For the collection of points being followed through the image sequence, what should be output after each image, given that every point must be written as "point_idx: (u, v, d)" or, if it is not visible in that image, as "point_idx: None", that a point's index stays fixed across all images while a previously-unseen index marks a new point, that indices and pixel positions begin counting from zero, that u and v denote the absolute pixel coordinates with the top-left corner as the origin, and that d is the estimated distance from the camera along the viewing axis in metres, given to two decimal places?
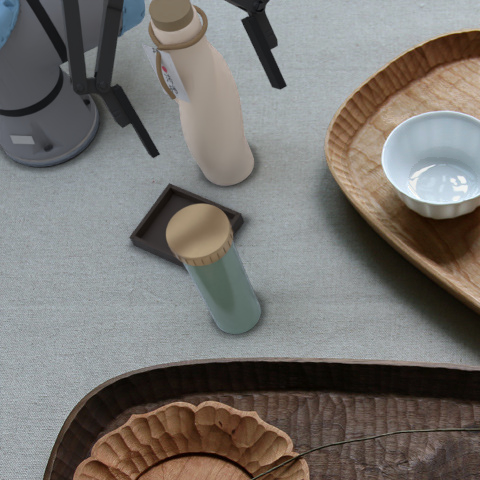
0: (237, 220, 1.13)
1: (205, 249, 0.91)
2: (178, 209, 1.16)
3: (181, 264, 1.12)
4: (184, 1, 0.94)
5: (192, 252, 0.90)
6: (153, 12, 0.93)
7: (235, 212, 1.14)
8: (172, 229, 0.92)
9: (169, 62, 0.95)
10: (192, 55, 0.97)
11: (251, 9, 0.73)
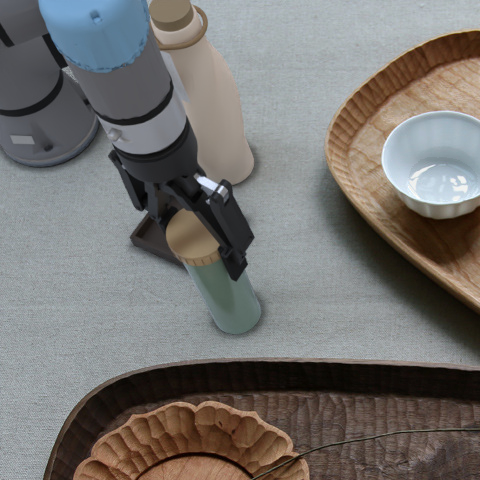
0: None
1: (205, 249, 0.91)
2: (178, 209, 1.16)
3: (181, 264, 1.12)
4: (184, 1, 0.94)
5: (192, 252, 0.90)
6: (153, 12, 0.93)
7: None
8: (172, 229, 0.92)
9: (169, 62, 0.95)
10: (192, 55, 0.97)
11: (221, 246, 0.89)
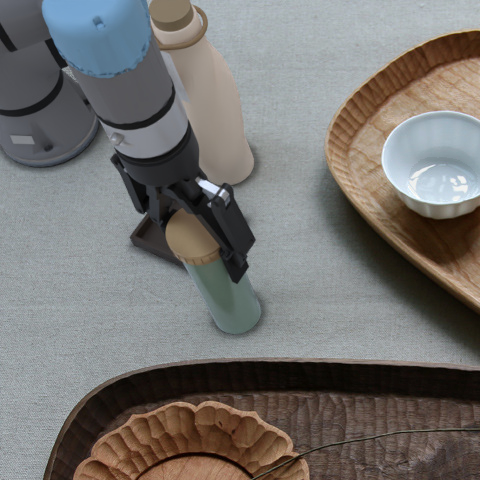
0: None
1: None
2: (178, 209, 1.16)
3: (181, 264, 1.12)
4: (184, 1, 0.94)
5: None
6: (153, 12, 0.93)
7: None
8: (193, 251, 0.90)
9: (169, 62, 0.95)
10: (192, 55, 0.97)
11: (222, 248, 0.90)
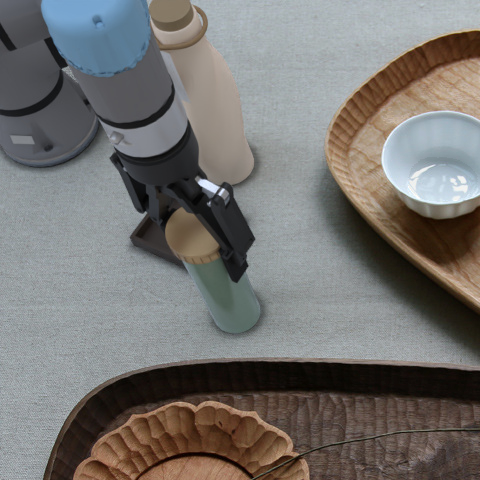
0: None
1: None
2: None
3: (181, 264, 1.12)
4: (184, 1, 0.94)
5: None
6: (153, 12, 0.93)
7: None
8: None
9: (169, 62, 0.95)
10: (192, 55, 0.97)
11: (222, 248, 0.90)
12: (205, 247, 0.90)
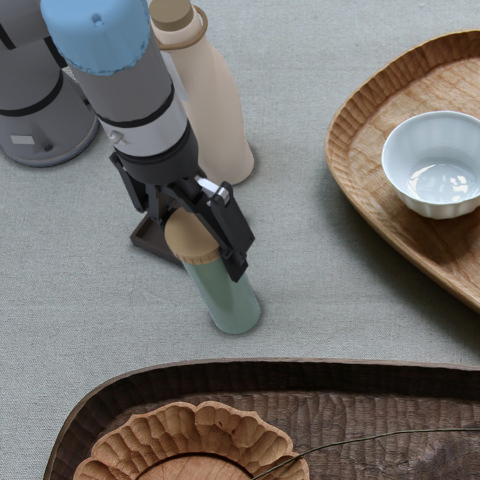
0: None
1: (172, 237, 0.91)
2: None
3: (181, 264, 1.12)
4: (184, 1, 0.94)
5: (170, 226, 0.91)
6: (153, 12, 0.93)
7: None
8: None
9: (169, 62, 0.95)
10: (192, 55, 0.97)
11: (222, 247, 0.89)
12: None
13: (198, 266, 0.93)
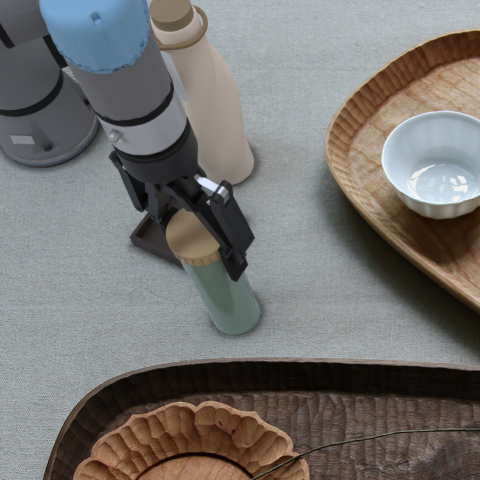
0: None
1: (204, 249, 0.91)
2: (178, 209, 1.16)
3: (181, 264, 1.12)
4: (184, 1, 0.94)
5: (191, 252, 0.90)
6: (153, 12, 0.93)
7: None
8: (172, 228, 0.92)
9: (169, 62, 0.95)
10: (192, 55, 0.97)
11: (221, 246, 0.89)
12: None
13: (201, 266, 0.93)
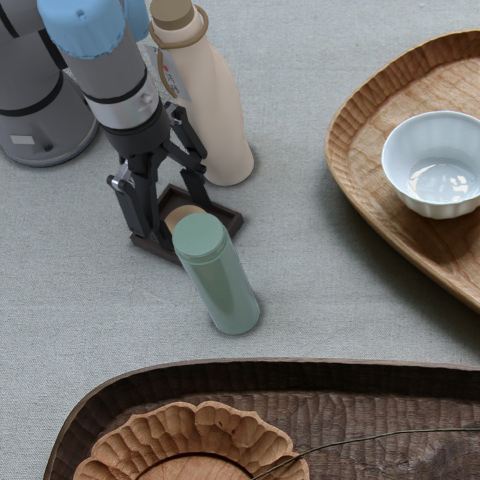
0: (237, 220, 1.13)
1: None
2: None
3: (181, 264, 1.12)
4: (185, 0, 0.94)
5: None
6: (154, 11, 0.93)
7: (235, 212, 1.14)
8: None
9: (171, 61, 0.95)
10: (193, 54, 0.97)
11: (196, 170, 1.07)
12: None
13: (201, 266, 0.93)
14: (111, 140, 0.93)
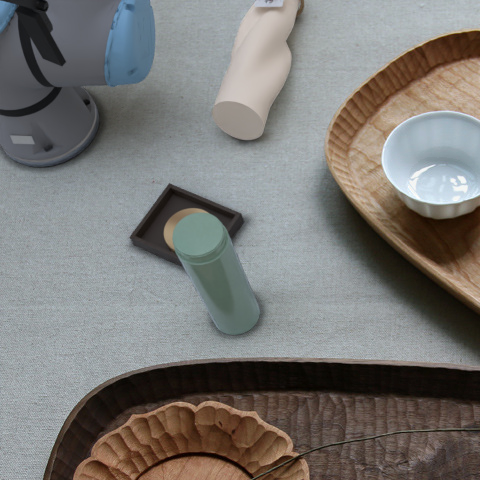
0: (237, 220, 1.13)
1: None
2: (178, 209, 1.16)
3: (181, 264, 1.12)
4: None
5: None
6: None
7: (235, 212, 1.14)
8: None
9: None
10: (292, 1, 1.24)
11: (35, 8, 0.83)
12: (170, 237, 1.12)
13: (201, 266, 0.93)
14: None
